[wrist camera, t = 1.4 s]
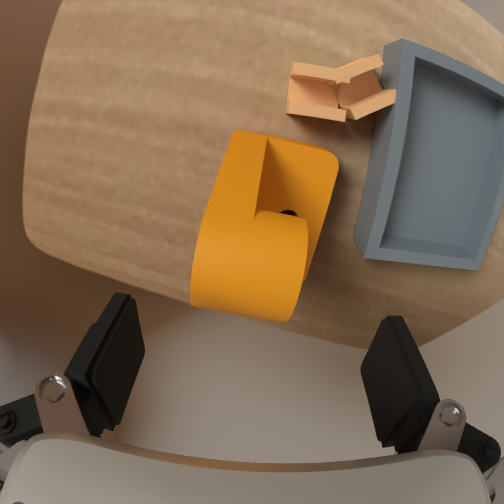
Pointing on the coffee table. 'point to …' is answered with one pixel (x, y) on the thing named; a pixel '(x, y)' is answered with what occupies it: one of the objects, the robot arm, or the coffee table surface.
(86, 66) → the coffee table surface
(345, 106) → the clip
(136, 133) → the coffee table surface
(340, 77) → the clip
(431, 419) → the robot arm
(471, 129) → the gray tray
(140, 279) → the coffee table surface
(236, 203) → the bracket
